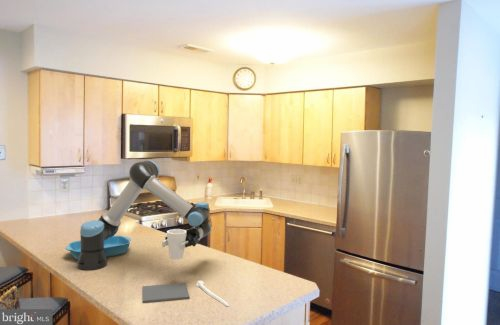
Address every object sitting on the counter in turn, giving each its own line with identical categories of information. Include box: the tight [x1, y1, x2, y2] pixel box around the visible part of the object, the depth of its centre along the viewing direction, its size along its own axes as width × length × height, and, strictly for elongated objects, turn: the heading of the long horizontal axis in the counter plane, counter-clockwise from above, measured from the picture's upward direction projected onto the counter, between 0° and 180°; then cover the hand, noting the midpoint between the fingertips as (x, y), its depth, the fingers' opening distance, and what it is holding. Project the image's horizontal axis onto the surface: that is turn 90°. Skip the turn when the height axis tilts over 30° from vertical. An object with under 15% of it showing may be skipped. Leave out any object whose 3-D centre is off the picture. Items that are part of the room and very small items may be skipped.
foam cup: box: [166, 228, 187, 261], centre depth 189 cm, size 10×9×13 cm
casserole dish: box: [65, 235, 132, 261], centre depth 229 cm, size 37×22×7 cm, turn 127°
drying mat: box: [142, 282, 190, 304], centre depth 176 cm, size 20×16×1 cm
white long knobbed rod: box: [195, 280, 230, 308], centre depth 176 cm, size 28×4×3 cm, turn 37°
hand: (171, 245), depth 185 cm, fingers closed on foam cup, 9 cm apart
